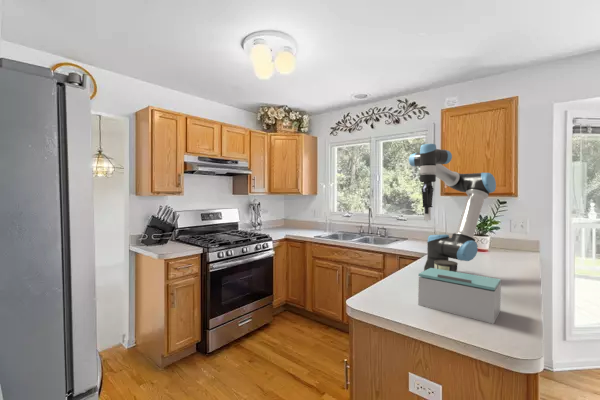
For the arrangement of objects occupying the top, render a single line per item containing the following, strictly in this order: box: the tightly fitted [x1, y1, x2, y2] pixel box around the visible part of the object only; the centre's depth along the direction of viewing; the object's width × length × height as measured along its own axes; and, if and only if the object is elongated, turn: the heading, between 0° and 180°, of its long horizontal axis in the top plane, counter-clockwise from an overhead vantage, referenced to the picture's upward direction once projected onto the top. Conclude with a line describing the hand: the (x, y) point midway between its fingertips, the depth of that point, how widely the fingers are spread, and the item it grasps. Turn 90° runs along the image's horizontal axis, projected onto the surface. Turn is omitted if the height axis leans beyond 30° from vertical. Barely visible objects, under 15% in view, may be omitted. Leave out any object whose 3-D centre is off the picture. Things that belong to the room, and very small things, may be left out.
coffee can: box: [434, 260, 459, 272], centre depth 143 cm, size 10×10×14 cm
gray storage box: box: [417, 276, 502, 325], centre depth 121 cm, size 16×27×12 cm, turn 49°
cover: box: [418, 268, 502, 290], centre depth 120 cm, size 16×27×2 cm, turn 49°
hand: (427, 219), depth 151 cm, fingers closed
